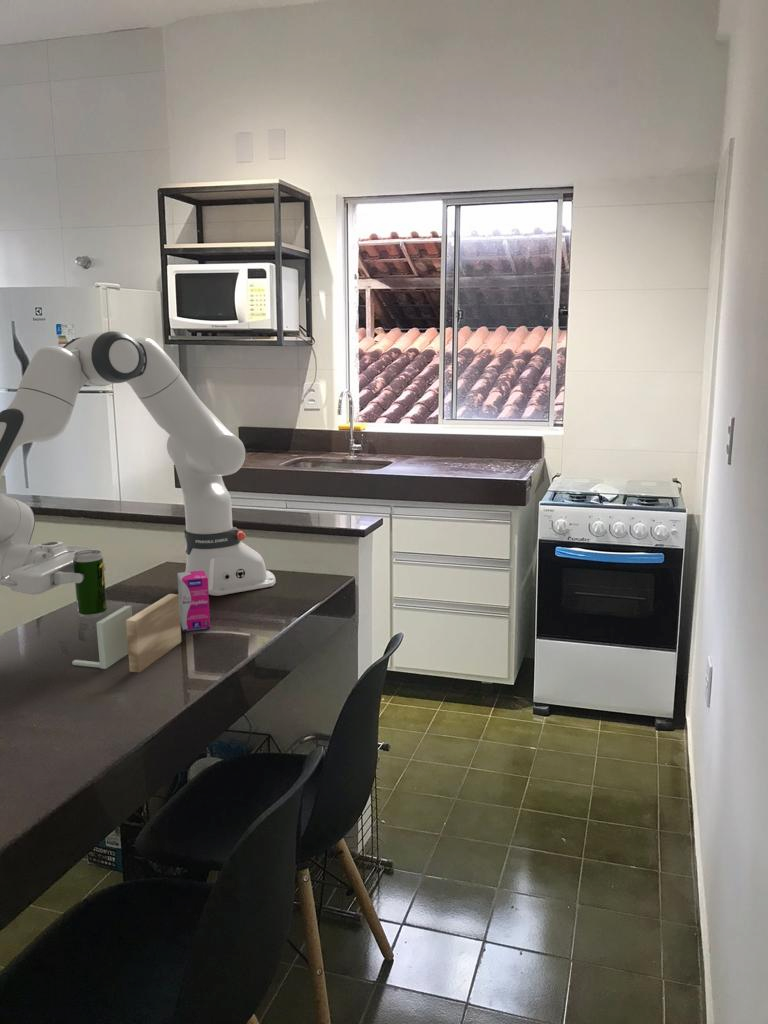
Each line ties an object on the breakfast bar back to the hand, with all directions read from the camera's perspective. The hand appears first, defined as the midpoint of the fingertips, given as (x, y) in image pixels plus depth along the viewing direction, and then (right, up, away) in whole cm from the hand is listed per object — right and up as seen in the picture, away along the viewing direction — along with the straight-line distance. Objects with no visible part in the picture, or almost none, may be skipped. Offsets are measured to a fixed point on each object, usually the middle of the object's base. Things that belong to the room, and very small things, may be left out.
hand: (93, 572), depth 160 cm
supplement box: (+15, -13, +20) cm, 28 cm away
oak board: (+11, -16, +4) cm, 20 cm away
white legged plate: (+1, -17, +3) cm, 17 cm away
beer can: (-1, -8, +2) cm, 8 cm away
